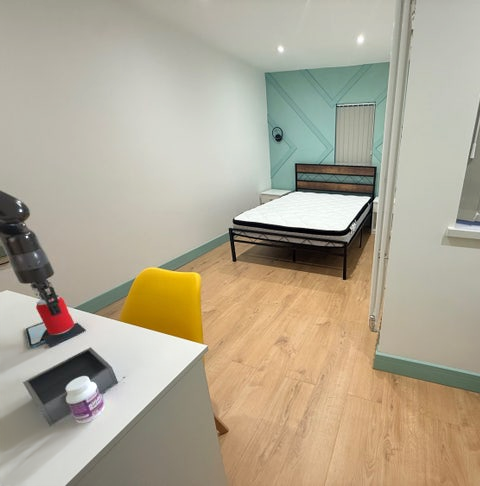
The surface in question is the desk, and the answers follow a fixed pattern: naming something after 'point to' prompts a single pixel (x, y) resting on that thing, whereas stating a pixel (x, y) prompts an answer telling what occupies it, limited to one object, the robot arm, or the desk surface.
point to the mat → (63, 335)
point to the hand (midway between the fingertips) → (53, 310)
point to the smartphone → (36, 335)
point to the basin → (59, 376)
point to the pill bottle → (84, 399)
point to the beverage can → (55, 317)
